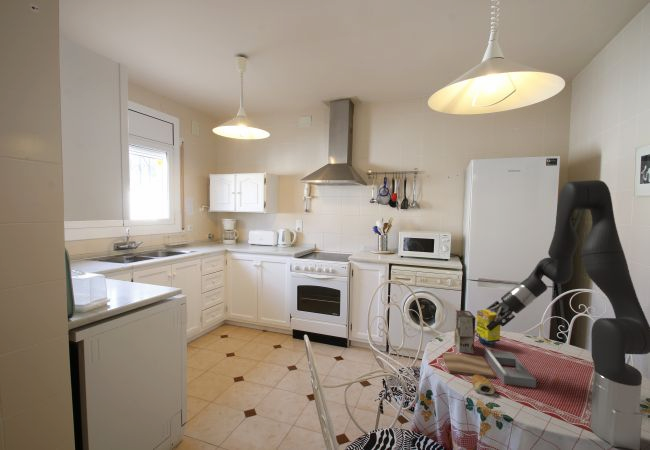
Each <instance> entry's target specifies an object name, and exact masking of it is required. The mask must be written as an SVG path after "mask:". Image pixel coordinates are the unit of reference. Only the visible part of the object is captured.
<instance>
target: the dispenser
mask: <svg viewBox="0 0 650 450" xmlns="http://www.w3.org/2000/svg"><path fill="white" fill-rule="evenodd" d="M484 358H485V359H486V362H488V363H489V364H490V367H491V368H492V369H493V372H494V373H496V376H498V377H499V379H500V380H501V382H502V383H503V385H509V386H510V385H512V386H518V387H527V388H534V389H535V388H536V387H537V379H536V377H535V376H534V375H533V374H532V373H531V372H530V371H529V370H528V369H527V368H526V367H525V365H524V364H523V363H522V362H521V361H520V360H519V359H518V358H517V357H516V356H515V354H514V353H513V352H511V351H502V350H500V351H499V350H491V349H489V347H487V346H484ZM503 366H507V367H508V368H506V367H503ZM509 367H515V368H509ZM536 389H537V388H536Z"/></svg>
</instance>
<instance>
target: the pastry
mask: <svg viewBox="0 0 650 450" xmlns="http://www.w3.org/2000/svg"><path fill="white" fill-rule="evenodd" d="M487 378H488V377H484V376H481V375H478V374H476V375H474V376H472V378H471V385H472V386H473V390H474V391H475V393H477V394H481V395H493V394H494V393H495V391H496V389H495V387H494V385H493V383H492V382H491V380H489V379H487Z"/></svg>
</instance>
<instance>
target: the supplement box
mask: <svg viewBox="0 0 650 450" xmlns="http://www.w3.org/2000/svg"><path fill="white" fill-rule="evenodd" d="M476 311H477V312H476V328H475V333H476V334H475V337H477V338H478V339H479V338H480V339H482V340H484V341H486V342H487V343H490V342H496V343H497V342H500V339H501V338H500V337H501V325H500V326H499V325H498V326H497V327H495V328H494V329H493V330H492V331H490V330H489V329H488V328H487V327H486V326H487V325H488V324H489V323H490V322H492V321H493V320H494V319H495V318H496V313H495V312H493V311H491V310H489V309H487V308H485V309H478V310H476Z"/></svg>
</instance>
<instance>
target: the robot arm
mask: <svg viewBox="0 0 650 450" xmlns="http://www.w3.org/2000/svg"><path fill="white" fill-rule="evenodd" d="M611 195H612V194H611V192H610V188H609V186H608V185H607V184H606V182H604V181H602V180H599V179H595V180H594V179H593V180H591V179H590V180H576V181H568V182H566V183H564V185H562V187H561V189H560V190H559V196H558V200H557V201H558V202H557V206H556V207H557V209H556V215H555V216H556V217H555V226H554V232H553V237H552V240H551V242H550V246H549V247H548V253H547V254H548V256H549V257H544V258H542V259H541V260H540V261H539V262H538V263H537V264H536V266H535V267H534V269H533V270H532V272H531V273H530V274H529V276H528V277H527V278H525V279H524V280H522V282H520V283H518V284H517V285H516V286H514V287H513V288H511V289H510V290H508V292H506V293H505V294H504V295H502V297H500V300H501V301H502V302H500V301H499V300H496V301H495V302H493V303H492V304H490V305H489V306H488V307H487V308H486V309H489V310H491V311H493V312H495V313H496V318H495V319H494V320H493V321H492V322H490V323H489V324H488V325H487V326H486V327H487V328H488V329H489V330H490V331H492V330H493V329H494V328H495V327H497V326H498V325H499V326H500V327H505V326H506V325H507V324H508V323H509V322H511V321H512V320H513V319H515V317H516V316H515V314H519V313H520V312H521V311H523V310H524V309H526V308H527V307H528V306H529V305H531V304H532V303H533V302H534V301H535V300H536V299H537V298H538V297H540V296H541V295H542V294H544V293H545V292H546V291H547V290H548V286H547V284H546V283H545V282H544V281H543V279H542V278H543V277H544V276H545V277H546V278H547V279H549V280H550V281H551V282H553V283H555V284H556V285H557V284H558V285H563V284H566V283H568V282H569V281H570V280H571V279H572V277H573V273H574V258H573V257H574V255H575V252H576V249H577V247H578V244H579V235H578V234H577V231H576V228H575V227H574V225H573V222H572V218H573V217H572V216H573V215H574V212H575V211H579V210H580V211H581V210H589V212H590V215H591V221H592V222H591V228H590V231H589V232H588V234H587V235H586V238H585V239H584V242H583V244H582V247H581V251H580V253H581V259H582V262H583V267H584V270H585V273H586V274H587V276H588V277H589V279H590V280H591V281H592V282H593V283H594V284H595V286H597V287H598V288H599V290H600V291H601V292H602V293H603V294H604V295H605V296H606V298H607V299H608V301H609V303H610V305H611V307H612V310H613V313H614V316H615V317H602V318H601V317H600V318H598V319H596V320H594V322H593V325H592V328H591V334H590V335H591V360H592V362H593V378H592V395H591V407H590V408H591V409H590V410H591V411H590V425H589V427H590V429H591V432H593V433H594V435H596V436H597V437H598V438H600V439H601V440H604V441H605V442H607V443H608V444H610V446H612V447H616V448H622V449H628V450H640V448H641V435H642V434H641V433H642V422H643V415H642V414H641V413H640V407H641V394H642V381H643V375H642V373H641V372H640V371H639V369H637V368H636V367H634V366H633V365H630V364H628V363H627V362H626V355H648V354H650V324H649V321H648V319H647V317H646V315H645V314H646V313H645V312H644V310H643V308H642V306H641V305H642V304H641V303H640V301H639V298H638V295H637V293H636V289H635V286H634V284H633V281H632V280H633V279H632V276H631V274H630V269H629V265H628V261H627V258H626V255H625V252H624V248H623V246H622V243H621V240H620V236H619V232H618V230H617V229H618V228H617V225H616V220H615V214H614V213H615V212H614V208H613V207H614V206H613V201H612V196H611ZM514 313H515V314H514Z"/></svg>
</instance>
